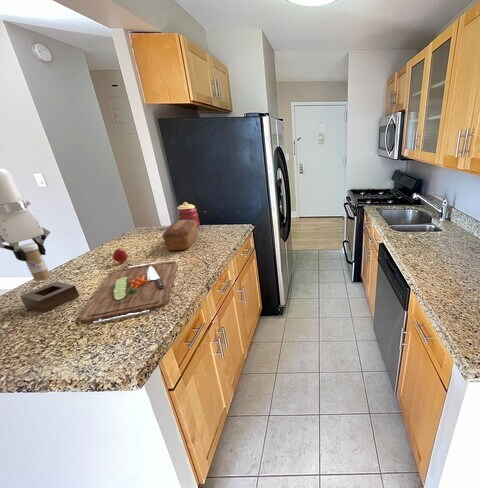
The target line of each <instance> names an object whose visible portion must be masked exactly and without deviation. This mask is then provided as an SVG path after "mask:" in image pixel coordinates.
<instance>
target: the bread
mask: <svg viewBox="0 0 480 488" xmlns="http://www.w3.org/2000/svg"><path fill="white" fill-rule="evenodd" d="M198 235H199V231H198V227H197V222H196V221H195V220H179V219H178V220H177V221H174V222H173V223H171V224H169V226H168V227H167V229H166V230H165V231H164V232H163V233H162V239H163V242H164V246H165V249H166V250H167V251H182V250H187V249H189V248H190V247H191V245H192V244H193V243H194V242H195V240H196V238H197V237H198Z"/></svg>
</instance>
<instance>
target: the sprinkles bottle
mask: <svg viewBox="0 0 480 488" xmlns="http://www.w3.org/2000/svg"><path fill="white" fill-rule="evenodd" d="M19 249H20V250H22V251H23V253H24V255H25V257H26V259H27V261H24V262H25V264H26V266H27V269H28V271H29V272H30V274H31V276H32V278H33V281H35V282H40V281H44V280H48V279H50V277H51V276H52V274H51V273H50V271H49V269H48V266H47V263H46V262H45V260H44V257H43V255H41V254H40V252H39V249H38V245H37V244H36V243H35V242H29V243H24V244H21V245H19Z"/></svg>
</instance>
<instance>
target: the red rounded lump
mask: <svg viewBox="0 0 480 488" xmlns="http://www.w3.org/2000/svg"><path fill="white" fill-rule="evenodd" d="M128 255H129V254H128V253H127V252H126V251H125V250H124V249H121V248H115V251H114V252H113V254H112V259H113V261H115V262H117V263H120V264H123V263H125V262H126V261H127V259H128V257H129V256H128Z"/></svg>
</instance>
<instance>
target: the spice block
mask: <svg viewBox="0 0 480 488" xmlns="http://www.w3.org/2000/svg"><path fill="white" fill-rule="evenodd" d="M19 297H20V299H21V301H22V303H23V305H24V307H25V308H27V309H31V310H33V311H38V312H41V313H47V312H50V311H52V310H55V309H57V308H58V307H60V306H62V305H64V304H67V303H69V302H70V301H73V300H75V299H77V298H79V297H80V294H79V291H78V289H77V286H76V285H74V284H71V283H70V284H69V283H65V282H61V281H54V282H51V283H49V284H46V285H44V286H42V287H39V288H36V289H34V290H32V291H29V292H27V293H24V294H22V295H19Z"/></svg>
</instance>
